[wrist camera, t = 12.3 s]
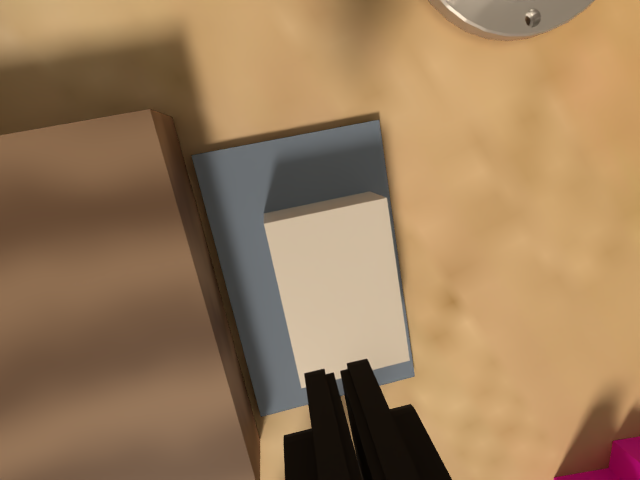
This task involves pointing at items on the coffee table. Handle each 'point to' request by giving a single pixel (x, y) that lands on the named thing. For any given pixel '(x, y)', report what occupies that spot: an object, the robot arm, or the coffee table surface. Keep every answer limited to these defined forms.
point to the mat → (252, 245)
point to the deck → (113, 313)
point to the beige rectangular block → (338, 283)
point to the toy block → (616, 463)
